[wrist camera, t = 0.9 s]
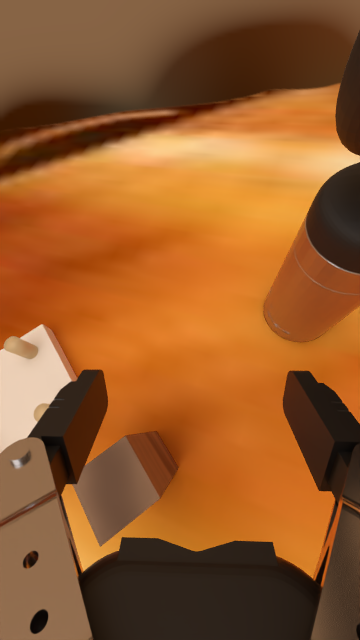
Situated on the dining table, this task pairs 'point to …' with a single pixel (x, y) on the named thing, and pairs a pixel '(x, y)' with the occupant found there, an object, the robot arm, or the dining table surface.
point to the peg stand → (29, 381)
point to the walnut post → (124, 482)
